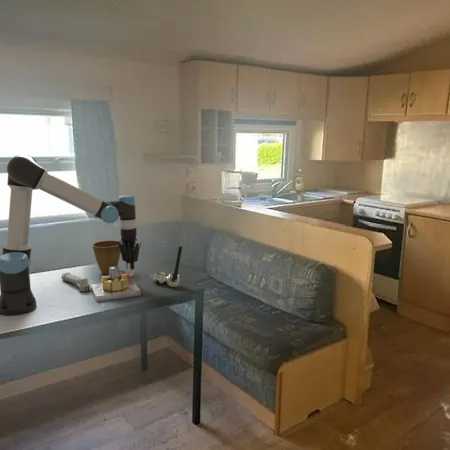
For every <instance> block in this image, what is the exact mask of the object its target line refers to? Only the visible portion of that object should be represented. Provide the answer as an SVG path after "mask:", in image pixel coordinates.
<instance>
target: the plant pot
mask: <svg viewBox="0 0 450 450" xmlns="http://www.w3.org/2000/svg"><path fill="white" fill-rule="evenodd" d="M118 241H119V240H114V239H113V240H109V239H108V240H101V241H96V242H94V243H92V248H93V252H94V253H93V254H94V256H95V260H96V263H97V266H98V268H99V270H100V272H101V274H102V275H109V268H110V267H114V266H116V267H119V262H120V258H121V252H120V248H119V245H118V244H117V242H118Z"/></svg>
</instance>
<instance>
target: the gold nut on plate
mask: <svg viewBox="0 0 450 450" xmlns="http://www.w3.org/2000/svg"><path fill="white" fill-rule="evenodd" d="M119 272H120V267H119V266H117V267H116V266H114V267H110V268H109V274H108V276H110V281H113V278H118V279H119ZM89 288H90V290H89V291H91V293H92V296H93V298H94V300H95V302H103V301H104V302H105V301H110V300H111V301H112V300H118V299H125V298H131V297H139V296H141V295H142V294H141V293H142V292H141V291H142V290H141V289H140V288H139V286H138V285H137V283H135V282H134V280H133V279H131V280H129V281H128V287H127V288H125V289H123V290H122V289H121V290H117V291H107V290H104V289H102V285H101V282H99V283H93V284H90V286H89Z"/></svg>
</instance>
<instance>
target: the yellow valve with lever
mask: <svg viewBox="0 0 450 450" xmlns="http://www.w3.org/2000/svg"><path fill="white" fill-rule="evenodd" d="M134 276H135V274H134V275H132V276H128V272H126V273H123V271H121V272H120V271H119V279H118V278H113V281H110V276H109V275H103V276H101V279H100V283H101V285H102V289H104V290H107V291H117V290H121V289H122V290H123V289H125V288H127V287H128V281H129V280H131V279H132V280H133V279H134V278H135V277H134Z"/></svg>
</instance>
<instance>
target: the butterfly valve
mask: <svg viewBox="0 0 450 450" xmlns="http://www.w3.org/2000/svg"><path fill="white" fill-rule="evenodd" d="M182 250H183V246H181V245H179V246H178V250H177V257H176V261H175V266H174V272H172V273H170V274H168V275H167V274H166V273H165V272H163V271H162V272H160V273H153V274H150V278H152V279H153V280H154V281H157V282H159V284H164V283H167V285H168V286H170V287H174V288H177V287H178V286H179V284H180V275H179V267H180V262H181V257H182Z"/></svg>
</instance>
